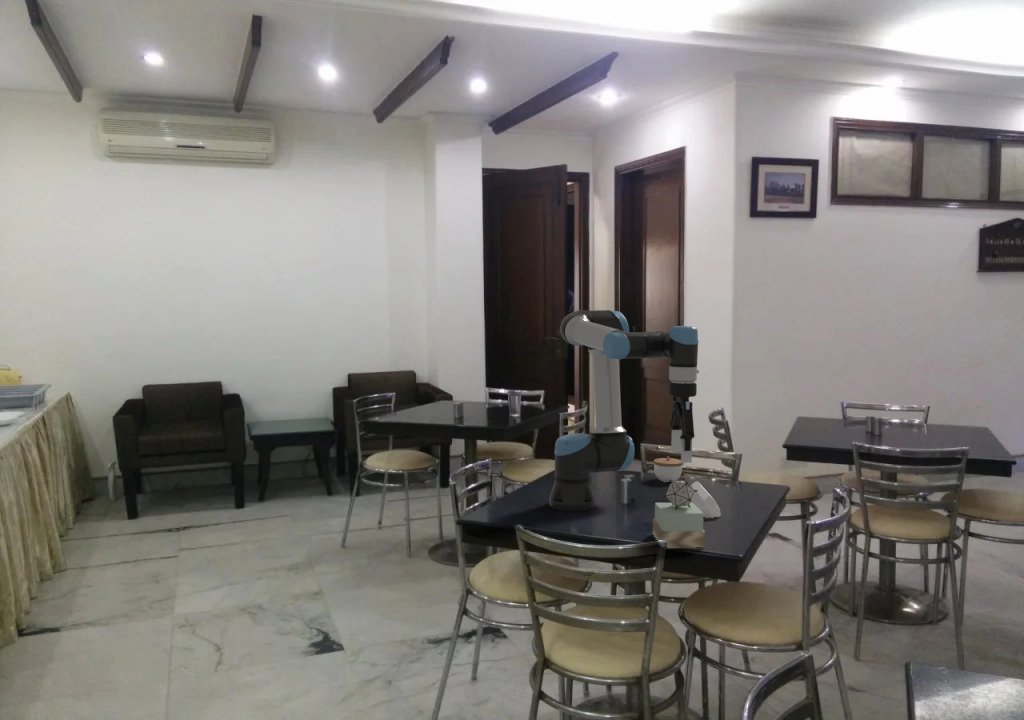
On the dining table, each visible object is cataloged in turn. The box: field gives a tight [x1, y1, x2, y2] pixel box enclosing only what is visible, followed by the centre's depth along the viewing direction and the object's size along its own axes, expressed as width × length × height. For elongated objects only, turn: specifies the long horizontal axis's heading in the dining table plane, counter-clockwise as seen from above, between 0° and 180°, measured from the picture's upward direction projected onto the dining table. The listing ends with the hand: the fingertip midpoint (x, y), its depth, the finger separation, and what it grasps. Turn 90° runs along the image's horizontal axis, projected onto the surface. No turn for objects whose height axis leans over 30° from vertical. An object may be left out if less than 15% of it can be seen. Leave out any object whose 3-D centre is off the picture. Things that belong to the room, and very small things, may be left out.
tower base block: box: [652, 518, 706, 549], centre depth 211 cm, size 12×12×5 cm
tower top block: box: [654, 502, 704, 531], centre depth 210 cm, size 11×11×5 cm
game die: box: [662, 477, 697, 509], centre depth 210 cm, size 9×8×10 cm
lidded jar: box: [653, 456, 683, 483], centre depth 284 cm, size 11×11×9 cm
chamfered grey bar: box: [689, 480, 722, 519], centre depth 245 cm, size 7×7×24 cm
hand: (680, 457), depth 210 cm, fingers open, 13 cm apart
